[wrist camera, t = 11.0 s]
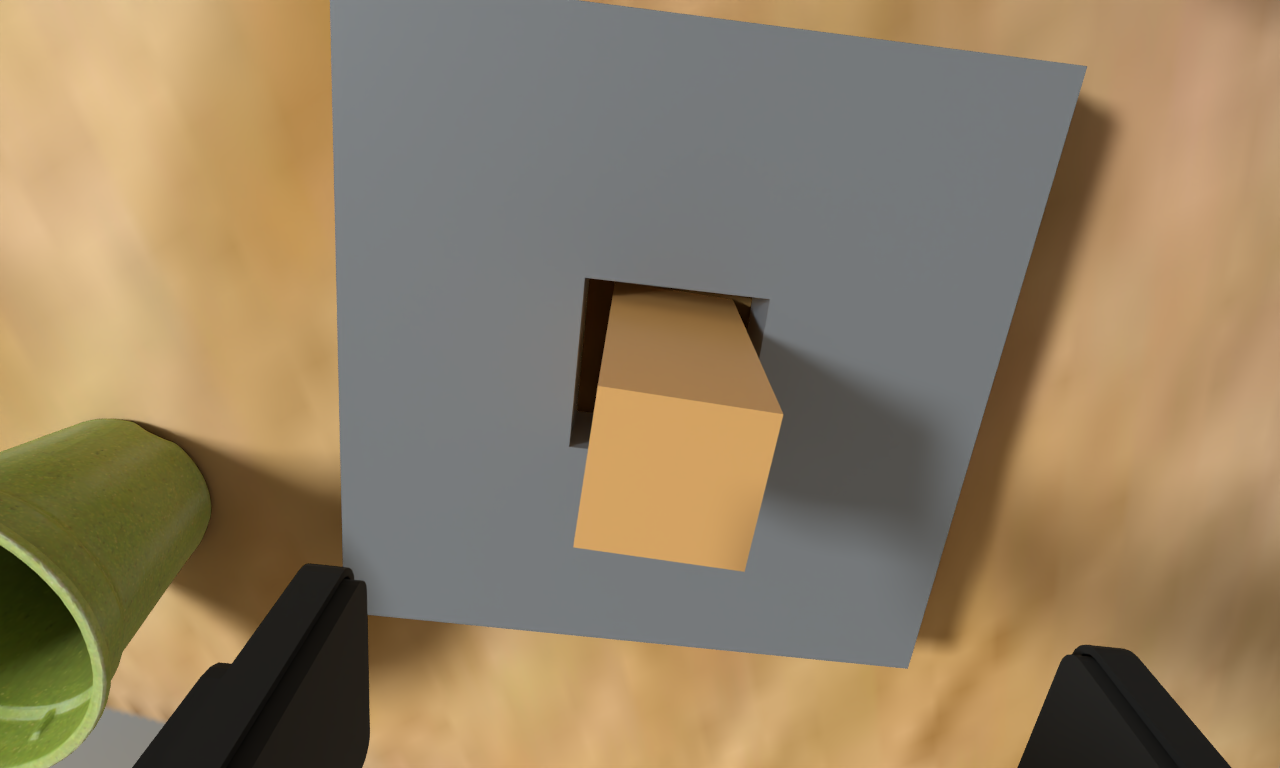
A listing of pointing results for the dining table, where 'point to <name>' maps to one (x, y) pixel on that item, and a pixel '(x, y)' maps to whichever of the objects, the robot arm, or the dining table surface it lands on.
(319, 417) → the dining table surface
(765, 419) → the plug
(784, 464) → the socket plate
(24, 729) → the plant pot
